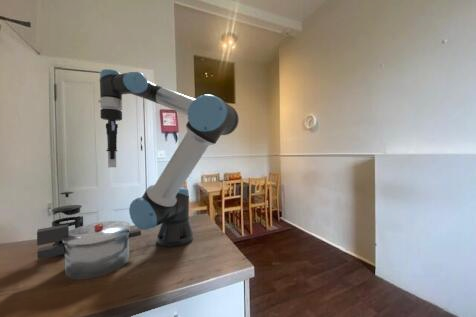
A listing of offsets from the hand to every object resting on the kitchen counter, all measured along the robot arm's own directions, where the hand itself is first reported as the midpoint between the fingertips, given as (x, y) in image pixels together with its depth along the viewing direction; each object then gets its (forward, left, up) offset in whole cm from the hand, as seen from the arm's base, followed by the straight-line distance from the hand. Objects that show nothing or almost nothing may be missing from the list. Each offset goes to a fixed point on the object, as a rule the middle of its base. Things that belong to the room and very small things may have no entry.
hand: (112, 167), depth 83 cm
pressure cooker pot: (-4, +14, -32) cm, 36 cm away
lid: (-2, +16, -22) cm, 27 cm away
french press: (+15, +4, -33) cm, 36 cm away
